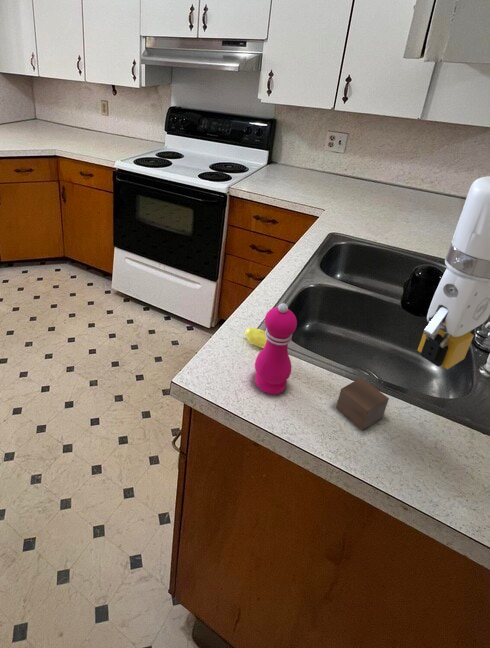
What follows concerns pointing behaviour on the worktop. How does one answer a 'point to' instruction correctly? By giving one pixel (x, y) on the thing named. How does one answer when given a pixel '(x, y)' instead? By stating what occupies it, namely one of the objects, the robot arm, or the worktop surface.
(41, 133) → the worktop surface
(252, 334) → the lemon
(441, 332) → the mustard block
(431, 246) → the worktop surface
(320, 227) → the worktop surface
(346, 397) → the walnut block
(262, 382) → the pepper mill
